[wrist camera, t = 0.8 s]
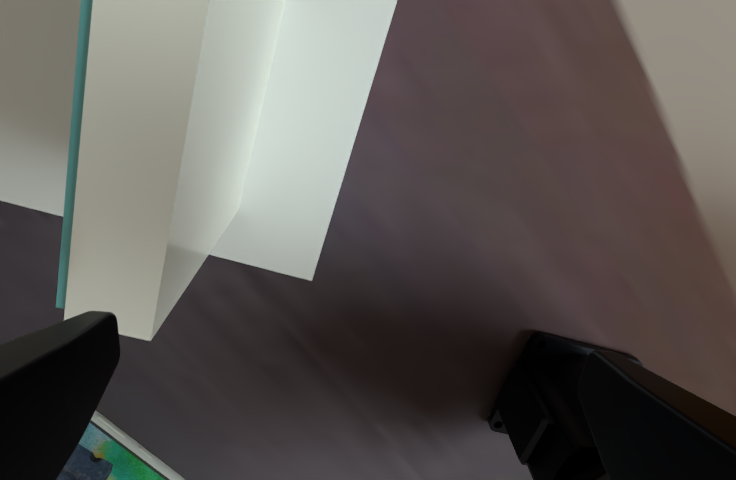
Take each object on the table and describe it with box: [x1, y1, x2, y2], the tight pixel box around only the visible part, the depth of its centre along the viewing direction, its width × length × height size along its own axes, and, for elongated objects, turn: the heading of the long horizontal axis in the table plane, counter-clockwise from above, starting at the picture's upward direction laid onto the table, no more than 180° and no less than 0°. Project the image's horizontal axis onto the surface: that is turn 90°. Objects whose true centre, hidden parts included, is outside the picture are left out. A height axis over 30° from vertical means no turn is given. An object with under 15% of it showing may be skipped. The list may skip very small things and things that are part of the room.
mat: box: [0, 0, 397, 281], centre depth 18 cm, size 18×14×1 cm
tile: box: [56, 0, 286, 341], centre depth 14 cm, size 2×9×10 cm, turn 162°
